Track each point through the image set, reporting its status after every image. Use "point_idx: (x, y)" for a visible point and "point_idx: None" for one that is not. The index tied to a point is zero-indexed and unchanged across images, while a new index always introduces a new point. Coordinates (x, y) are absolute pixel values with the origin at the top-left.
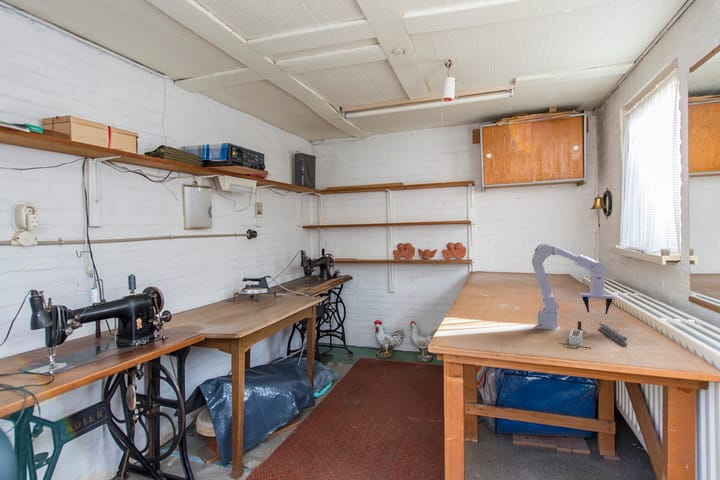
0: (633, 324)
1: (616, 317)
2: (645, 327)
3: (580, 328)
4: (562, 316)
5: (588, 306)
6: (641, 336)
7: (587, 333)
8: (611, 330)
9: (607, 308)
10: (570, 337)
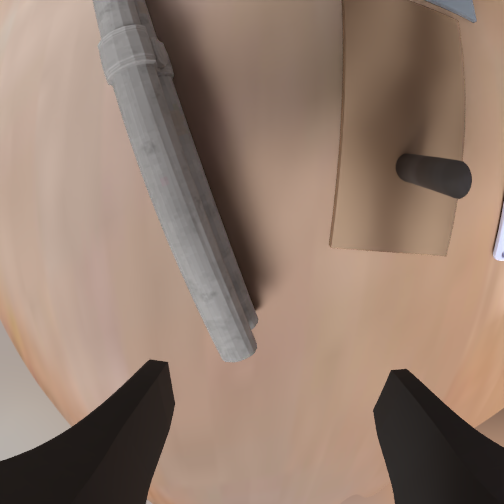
0: None
1: (193, 500)
2: None
3: (417, 156)
4: None
5: (410, 453)
6: (38, 270)
7: (353, 131)
8: (148, 73)
9: (101, 416)
10: None
